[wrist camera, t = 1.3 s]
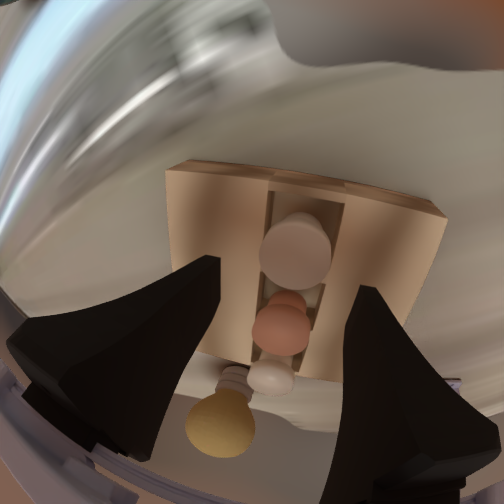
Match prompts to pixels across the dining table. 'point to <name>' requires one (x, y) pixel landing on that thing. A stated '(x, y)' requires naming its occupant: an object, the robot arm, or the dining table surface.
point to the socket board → (335, 226)
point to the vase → (6, 2)
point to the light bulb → (224, 416)
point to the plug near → (296, 252)
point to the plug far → (272, 374)
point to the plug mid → (282, 324)
